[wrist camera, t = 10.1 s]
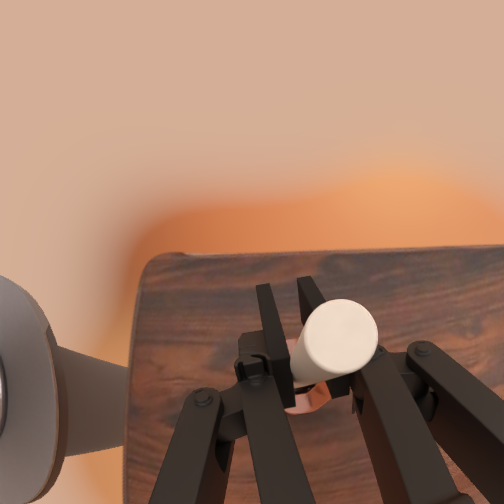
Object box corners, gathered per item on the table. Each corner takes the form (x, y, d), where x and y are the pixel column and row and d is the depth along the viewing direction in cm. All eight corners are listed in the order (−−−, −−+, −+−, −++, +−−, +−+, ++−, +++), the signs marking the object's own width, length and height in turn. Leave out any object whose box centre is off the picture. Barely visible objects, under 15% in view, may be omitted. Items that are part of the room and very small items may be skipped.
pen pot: (254, 395, 23) (246, 395, 16) (277, 344, 24) (279, 326, 18) (307, 416, 22) (319, 424, 15) (329, 365, 23) (349, 353, 17)
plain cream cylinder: (277, 384, 22) (290, 357, 6) (286, 365, 23) (320, 286, 6) (296, 392, 22) (364, 384, 5) (305, 373, 22) (388, 313, 6)
